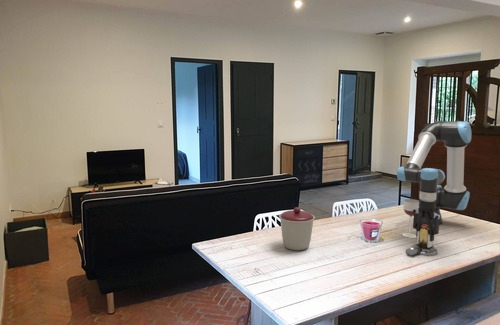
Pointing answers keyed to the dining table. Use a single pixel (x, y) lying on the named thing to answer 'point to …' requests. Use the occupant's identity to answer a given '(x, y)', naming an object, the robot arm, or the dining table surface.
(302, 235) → the canister
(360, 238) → the dining table surface
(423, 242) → the yellow glass cylinder
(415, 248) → the grey flat curved piece
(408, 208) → the wineglass
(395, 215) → the dining table surface
